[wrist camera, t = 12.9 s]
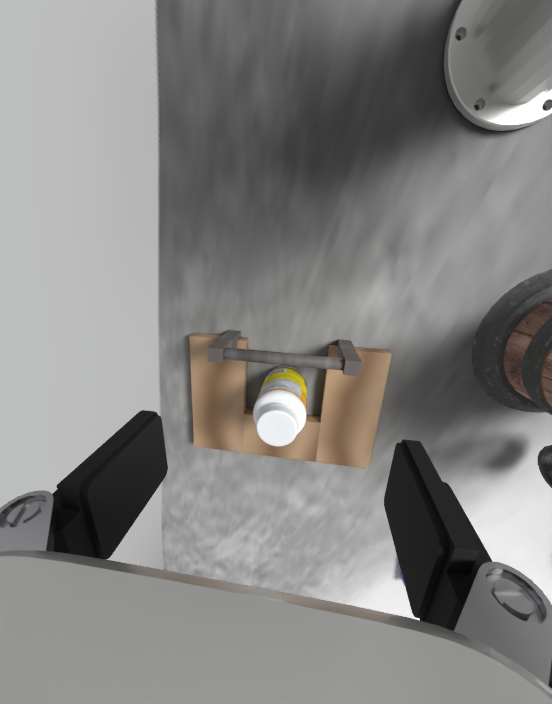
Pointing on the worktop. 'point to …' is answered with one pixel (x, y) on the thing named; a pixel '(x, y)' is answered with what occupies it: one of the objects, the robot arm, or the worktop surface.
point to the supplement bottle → (281, 406)
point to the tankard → (519, 352)
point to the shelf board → (318, 432)
